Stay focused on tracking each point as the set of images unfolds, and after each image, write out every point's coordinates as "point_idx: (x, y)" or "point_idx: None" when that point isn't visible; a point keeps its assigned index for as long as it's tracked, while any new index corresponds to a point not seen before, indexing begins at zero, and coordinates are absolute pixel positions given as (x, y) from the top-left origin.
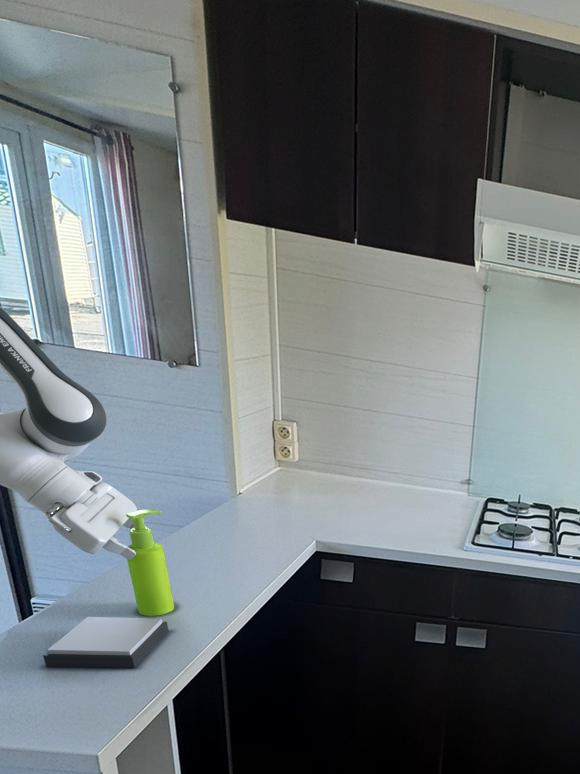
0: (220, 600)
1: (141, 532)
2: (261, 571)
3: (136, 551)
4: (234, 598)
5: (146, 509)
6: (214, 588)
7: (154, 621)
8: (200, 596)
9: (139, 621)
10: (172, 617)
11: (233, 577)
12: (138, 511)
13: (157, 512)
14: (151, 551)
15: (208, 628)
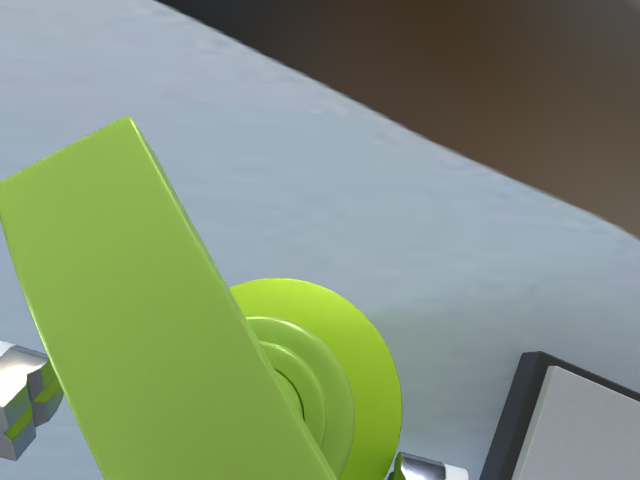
0: (292, 172)
1: (344, 408)
2: (70, 22)
3: (419, 460)
4: (290, 128)
5: (40, 297)
6: (171, 181)
7: (577, 393)
8: (230, 232)
9: (563, 450)
10: (395, 335)
11: (88, 113)
12: (132, 421)
13: (159, 167)
14: (381, 353)
15: (525, 227)
